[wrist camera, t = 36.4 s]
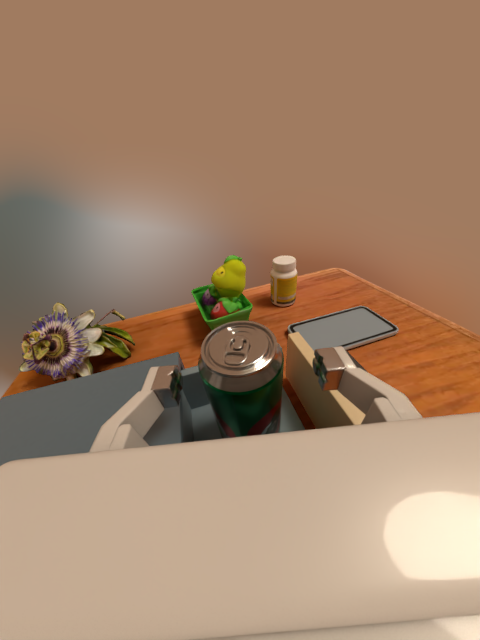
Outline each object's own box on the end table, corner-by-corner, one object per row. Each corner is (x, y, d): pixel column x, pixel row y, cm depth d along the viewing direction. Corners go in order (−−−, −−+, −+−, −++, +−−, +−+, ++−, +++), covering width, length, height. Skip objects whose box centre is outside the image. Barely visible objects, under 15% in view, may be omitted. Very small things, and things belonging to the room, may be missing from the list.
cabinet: (198, 401, 24) (178, 351, 19) (217, 567, 14) (185, 557, 9) (65, 441, 22) (1, 397, 17) (-28, 675, 12) (-269, 748, 6)
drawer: (326, 362, 26) (336, 321, 22) (413, 468, 16) (460, 430, 12) (186, 405, 23) (167, 366, 19) (195, 561, 14) (162, 551, 10)
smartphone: (402, 329, 29) (312, 358, 26) (399, 334, 30) (311, 363, 27) (363, 304, 35) (285, 325, 32) (361, 309, 35) (284, 330, 33)
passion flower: (96, 402, 32) (-14, 385, 24) (111, 347, 39) (30, 320, 31) (138, 369, 28) (24, 336, 20) (146, 314, 35) (65, 274, 27)
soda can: (280, 413, 20) (284, 317, 13) (279, 474, 16) (284, 386, 9) (230, 408, 21) (208, 315, 14) (218, 464, 17) (178, 376, 10)
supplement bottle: (300, 300, 40) (304, 258, 34) (284, 310, 37) (286, 267, 32) (281, 292, 43) (282, 253, 38) (265, 301, 40) (264, 260, 35)
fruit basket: (196, 312, 40) (180, 256, 33) (237, 299, 42) (230, 244, 35) (212, 348, 31) (195, 282, 24) (263, 330, 33) (260, 265, 27)
